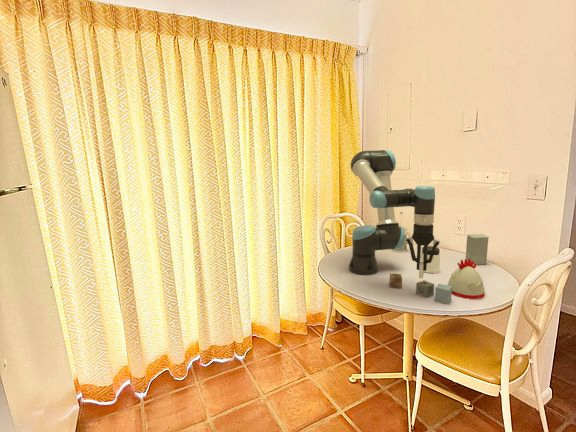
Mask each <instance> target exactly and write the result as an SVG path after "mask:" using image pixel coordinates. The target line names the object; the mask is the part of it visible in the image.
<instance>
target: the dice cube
mask: <svg viewBox="0 0 576 432" xmlns="http://www.w3.org/2000/svg"><path fill="white" fill-rule="evenodd" d="M415 283H416V287H415V294H416V295H418V296H420V297H423V298H425V299H426V298H429V297H432V296H435V283H432V282H431V281H430V282H429V281H427V280H420V281H418V282H415Z"/></svg>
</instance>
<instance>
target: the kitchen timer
mask: <svg viewBox="0 0 576 432" xmlns="http://www.w3.org/2000/svg"><path fill="white" fill-rule="evenodd" d="M473 264H474V261H472V262H471V260H470V259H468V262H467V259H466V258H464V260H463V259H460V262H457V266H458V268H456V269H455V270H454V271H453V272H452V273H451V275H450V277H449V279H448V283H447V285H448V286H452V295H453V296H454V297H458V298H461V297H462V298H461V299H467V298H468V299H467V300H480V299H483V298H484V297H485V285H484V280H483V279H482V276H481V275H480V273H479V272H478V271H477V270H476V267H477V266H478V264H476V263H475V264H474V265H473Z"/></svg>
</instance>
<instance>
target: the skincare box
mask: <svg viewBox="0 0 576 432" xmlns="http://www.w3.org/2000/svg"><path fill="white" fill-rule="evenodd" d="M488 247H489V236H487V235H486V234H484V233H477V234H476V233H473V234H472V233H468V234H467V237H466V248H465V259H467V262H468V259H470V260H471V262H472V261H474V264H475V263H476V264H477V265H487V262H488V260H487V258H488V249H489V248H488ZM474 264H473V266H474Z"/></svg>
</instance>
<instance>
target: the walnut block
mask: <svg viewBox="0 0 576 432" xmlns="http://www.w3.org/2000/svg"><path fill="white" fill-rule="evenodd" d="M389 287H390V288H392V289H402V288H403V276H402V273H389Z"/></svg>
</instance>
